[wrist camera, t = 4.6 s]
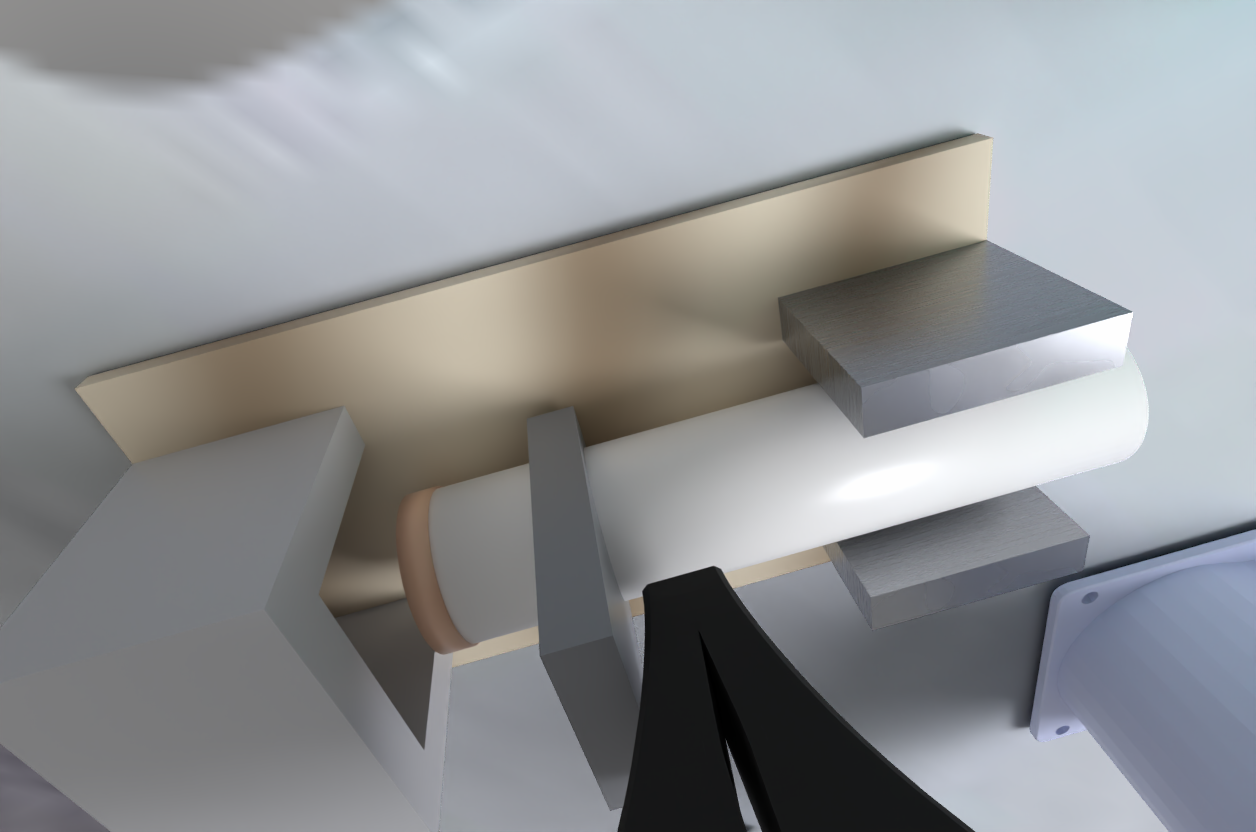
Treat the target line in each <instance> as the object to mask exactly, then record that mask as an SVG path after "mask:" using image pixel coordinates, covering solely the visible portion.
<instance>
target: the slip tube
mask: <svg viewBox="0 0 1256 832" xmlns="http://www.w3.org/2000/svg"><path fill="white" fill-rule="evenodd" d="M1148 418H1149V407H1148V398H1147V392H1146V388H1145V384H1144V381H1143V378H1142V375H1141V373H1140V370H1139V368H1138V365H1137V364H1136V362H1135V360H1134V358H1133V356H1132V354H1131V353H1130V351H1129V350H1128V348H1127V347H1126V352H1125V357H1124V362H1123V366H1121V367H1117V368H1114V369H1110V370H1107V371H1103V372H1099V373H1096V374H1092V375H1089V376H1085V377H1082V378H1078V379H1074V380H1071V381H1067V382H1064V383H1060V384H1056V385H1053V386H1049V387H1046V388H1042V389H1039V390H1035V391H1031V392H1028V393H1024V394H1021V395H1017V396H1014V397H1010V398H1006V399H1003V400H999V401H996V402H992V403H988V404H985V405H981V406H978V407H974V408H971V409H967V410H963V411H960V412H956V413H953V414H949V415H945V416H942V417H938V418H935V419H931V420H928V421H924V422H920V423H917V424H913V425H910V426H906V427H902V428H899V429H895V430H892V431H888V432H885V433H881V434H877V435H874V436H870V437H867V438H863V437H862V436H861V434H860V433H859V432H858V431H857V429H856V428H855V427H854V426H853V425H852V423H851V422H850V421H849V420H848V419H847V417H846V416H845V415H844V414H843V413H842V411H841V410H840V409H839V408H838V407H837V405H836V404H835V403H834V402H833V400H832V399H831V398H830V397H829V396H828V394H827V393H826V392H825V391H824V390H823V388H822V387H821V386H820V385H819V384H818V383H816V384H812V385H808V386H805V387H801V388H798V389H794V390H790V391H787V392H783V393H780V394H776V395H772V396H769V397H765V398H762V399H758V400H754V401H751V402H747V403H744V404H740V405H736V406H733V407H729V408H726V409H722V410H718V411H715V412H711V413H708V414H704V415H700V416H697V417H693V418H690V419H686V420H682V421H679V422H675V423H672V424H668V425H664V426H661V427H657V428H654V429H650V430H646V431H643V432H639V433H636V434H632V435H628V436H625V437H621V438H618V439H614V440H610V441H607V442H603V443H600V444H596V445H592V446H589V447H586V445H585V442H584V439H583V435H582V432H581V429H580V426H579V423H578V420H577V416H576V413H575V410H574V407H573V406H571V407H567V408H563V409H560V410H556V411H553V412H549V413H545V414H542V415H538V416H535V417H531V418H527V435H528V453H529V463H528V464H524V465H520V466H517V467H513V468H510V469H506V470H502V471H499V472H495V473H492V474H488V475H484V476H481V477H477V478H473V479H470V480H466V481H463V482H459V483H455V484H452V485H448V486H445V487H443V486H436V487H432V488H428V489H425V490H421V491H418V492H414V493H410V494H407V495H406V496H405V497H404V498H403V499H402V501H401V503H400V505H399V509H398V514H397V521H396V546H397V556H398V563H399V569H400V575H401V579H402V584H403V588H404V591H405V595H406V598H407V601H408V605H409V608H410V610H411V613H412V616H413V618H414V620H415V623H416V625H417V627H418V629H419V631H420V633H421V634H422V636H423V638H424V639H425V641H426V642H427V643H428V645H429V646H430V647H431V648H432V649H433V650H434V651H435V652H437V653H439V654H442V655H445V654H449V653H453V652H456V651H460V650H463V649H467V648H470V647H474V646H476V645H478V644H479V643H480V642H482V641H486V640H489V639H493V638H496V637H500V636H503V635H507V634H510V633H514V632H518V631H521V630H525V629H528V628H532V627H535V626H538V631H539V649H540V657H541V660H542V662H543V664H544V666H545V668H546V671H547V673H548V675H549V677H550V679H551V682H552V684H553V686H554V688H555V690H556V693H557V695H558V697H559V699H560V701H561V703H562V706H563V708H564V710H565V712H566V714H567V717H568V719H569V721H570V723H571V725H572V728H573V730H574V732H575V734H576V736H577V739H578V741H579V743H580V745H581V747H582V750H583V752H584V754H585V756H586V758H587V761H588V763H589V765H590V767H591V769H592V772H593V774H594V776H595V778H596V780H597V783H598V785H599V787H600V789H601V791H602V794H603V796H604V798H605V800H606V802H607V804H608V807H609V809H610V811H611V810H615V809H618V808H622V807H623V805H624V800H625V795H626V790H627V785H628V780H629V775H630V769H631V764H632V758H633V751H634V744H635V738H636V731H637V724H638V718H639V710H640V702H641V691H642V679H643V666H642V661H641V656H640V652H639V647H638V642H637V637H636V632H635V628H634V623H633V618H632V613H631V609H630V604H629V600H631V599H635V598H638V597H642V596H643V594H642V590H643V589H644V588H645V586H646V585H647V584H650V583H654V582H657V581H661V580H664V579H668V578H671V577H675V576H679V575H682V574H686V573H689V572H693V571H696V570H700V569H704V568H707V567H711V566H716V567H718V568H720V569H722V571H723V573H727V572H731V571H734V570H738V569H742V568H745V567H749V566H752V565H756V564H759V563H763V562H766V561H770V560H774V559H777V558H781V557H784V556H788V555H791V554H795V553H798V552H802V551H806V550H809V549H813V548H816V547H820V546H823V545H827V544H830V543H834V542H838V541H841V540H845V539H848V538H852V537H855V536H859V535H862V534H866V533H870V532H873V531H877V530H880V529H884V528H887V527H891V526H894V525H898V524H902V523H905V522H909V521H912V520H916V519H919V518H923V517H926V516H930V515H934V514H937V513H941V512H944V511H948V510H951V509H955V508H958V507H962V506H966V505H969V504H973V503H976V502H980V501H983V500H987V499H990V498H994V497H998V496H1001V495H1005V494H1008V493H1012V492H1015V491H1019V490H1023V489H1026V488H1030V487H1033V486H1037V485H1040V484H1044V483H1047V482H1051V481H1055V480H1058V479H1062V478H1065V477H1069V476H1072V475H1076V474H1079V473H1083V472H1087V471H1090V470H1094V469H1097V468H1101V467H1104V466H1108V465H1111V464H1115V463H1118V462H1121V461H1124V460H1126V459H1128V458H1129V457H1131V456H1132V455H1133V454H1134V453H1135V452H1136V451H1137V450H1138V449H1139V447H1140V446H1141V444H1142V442H1143V440H1144V438H1145V434H1146V431H1147V426H1148Z"/></svg>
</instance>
